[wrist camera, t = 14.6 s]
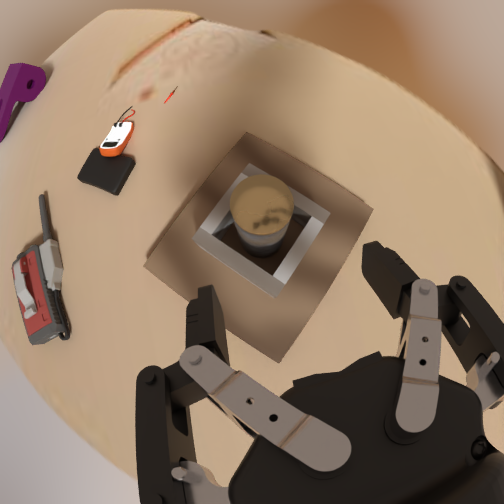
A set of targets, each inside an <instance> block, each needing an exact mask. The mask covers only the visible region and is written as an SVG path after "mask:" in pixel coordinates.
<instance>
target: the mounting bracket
mask: <svg viewBox="0 0 504 504" xmlns="http://www.w3.org/2000/svg"><path fill="white" fill-rule="evenodd" d="M45 82H46V75H45V72H44V71H43V69H41V68H40V67H36V66H32V65H29V64H25V63H16V64H10V66H9V68H8V71H7V73H6V75H5V78H4V80H3V83H2V85H1V88H0V142H1V141H2V139H3V137H4V135H5V132H6V129H7V126H8V122H9V119H10V116H11V112H12V109H13V106H14V104H15V102H16V101H21V102H30V101H32V100H34V99H35V98H36V97H37V96H38V95H39V93H40V92H41V91H42V90H43V88H44V86H45Z"/></svg>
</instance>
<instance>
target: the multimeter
mask: <svg viewBox="0 0 504 504" xmlns="http://www.w3.org/2000/svg"><path fill="white" fill-rule="evenodd" d="M177 87H178V86H177ZM177 87H176V88H177ZM174 92H175V90H173V92H172V93H171V94H170V96H169V97H168V98H167V100H168V99H169V98H170V97H171V96H172V94H173V93H174ZM167 100H166V101H167ZM166 101H165V102H166ZM165 102H164V103H165ZM130 108H131V107H130ZM130 108H129V109H130ZM129 109H128V110H129ZM128 110H127V111H128ZM127 111H126V112H127ZM132 111H134V110H132ZM126 112H124V113H123V115H124V114H125V113H126ZM134 113H135V111H134ZM134 113H133V114H134ZM133 114H132V115H133ZM123 115H122V116H123ZM132 115H130V116H132ZM122 116H121V117H122ZM130 116H129V117H130ZM121 117H120V119H121ZM127 118H128V117H127ZM127 118H125V119H127ZM120 119H119V120H120ZM125 119H124V120H125ZM119 120H118V122H117V123H114V125H113V127H112V129H111V131H110V133H109V134H108V136H107V137H106V139H105V140H104V141H103V143H102V144H101V146H100V147H99V149H97V148H95V149H93V150H92V152H91V153H90V155H89V157H88V158H87V160H86V162H85V164H84V165H83V167H82V169H81V171H80V173H79V174H78V177H77V178H78V179H79V180H80V181H81V182H83V183H86V184H89V185H92V186H95V187H98V188H100V189H103V190H105V191H107V192H109V193H111V194H113V195H119V193H120V192H121V190H122V188H123V186H124V184H125V182H126V180H127V179H128V177H129V175H130V173H131V171H132V170H133V168H134V166H135V165H136V163H135V162H134V160H133V159H132V158H130V157H125V156H121V155H119V154H121V153H122V151H123V150H124V148H125V146H126V144H127V143H128V141H129V139H130V138H131V135H132V133H133V130H134V126H133V123H132V122H124V120H123V122H119Z"/></svg>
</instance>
